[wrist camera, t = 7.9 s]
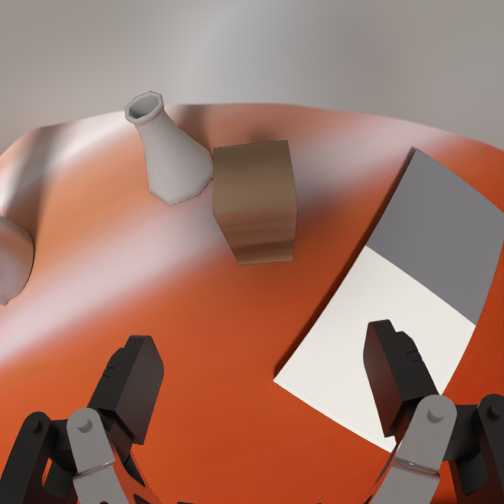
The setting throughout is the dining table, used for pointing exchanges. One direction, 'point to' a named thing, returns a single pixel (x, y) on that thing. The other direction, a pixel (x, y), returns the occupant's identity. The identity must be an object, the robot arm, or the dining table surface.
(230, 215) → the block
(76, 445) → the robot arm
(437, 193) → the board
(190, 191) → the flask
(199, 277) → the dining table surface
